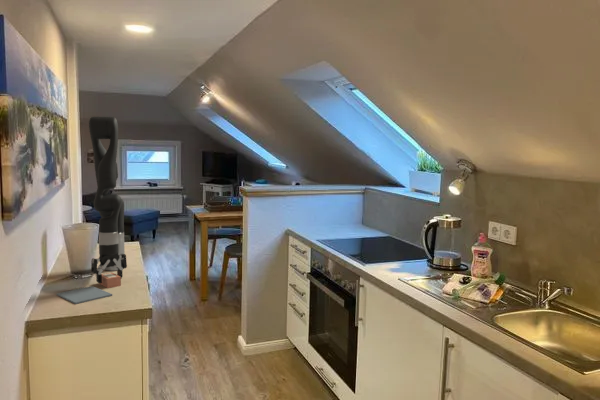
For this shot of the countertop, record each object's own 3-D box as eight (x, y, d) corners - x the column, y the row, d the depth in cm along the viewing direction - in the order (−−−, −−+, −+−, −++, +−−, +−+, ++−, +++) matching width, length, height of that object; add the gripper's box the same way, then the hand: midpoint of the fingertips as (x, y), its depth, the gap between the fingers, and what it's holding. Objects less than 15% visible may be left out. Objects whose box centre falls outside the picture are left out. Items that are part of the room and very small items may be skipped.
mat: (56, 295, 179) (56, 293, 179) (92, 287, 190) (92, 285, 190) (75, 304, 169) (75, 302, 169) (112, 295, 180) (112, 294, 180)
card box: (99, 283, 196) (98, 274, 196) (112, 281, 200) (112, 272, 199) (107, 288, 190) (107, 278, 189) (120, 286, 193) (120, 276, 193)
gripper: (120, 239, 201) (121, 276, 202) (87, 243, 190) (88, 282, 191) (129, 241, 196) (130, 279, 197) (96, 246, 185) (97, 286, 187)
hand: (109, 280), depth 194 cm, fingers open, 8 cm apart
